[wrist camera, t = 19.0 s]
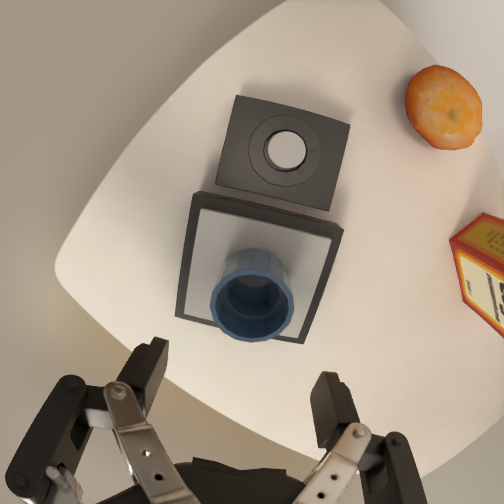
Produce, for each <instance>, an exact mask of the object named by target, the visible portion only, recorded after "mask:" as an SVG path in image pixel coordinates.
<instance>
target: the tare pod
mask: <svg viewBox="0 0 504 504" xmlns="http://www.w3.org/2000/svg"><path fill="white" fill-rule="evenodd" d="M349 129H350V124H347V123H344V122H341V121H338V120H335V119H332V118H329V117H325V116H322V115H319V114H315V113H312V112H309V111H305V110H301V109H298V108H294V107H290V106H286V105H282V104H278V103H273V102H269V101H265V100H260V99H255V98H250V97H245V96H239V95H236V97H235V101H234V105H233V109H232V113H231V117H230V121H229V125H228V129H227V133H226V138H225V142H224V146H223V150H222V155H221V159H220V164H219V168H218V173H217V177H216V182H215V184H216V185H221V186H226V187H231V188H235V189H240V190H244V191H248V192H253V193H257V194H261V195H266V196H270V197H274V198H278V199H282V200H286V201H290V202H294V203H298V204H302V205H306V206H309V207H313V208H317V209H320V210H324V211H328V212H329V209H330V205H331V202H332V198H333V194H334V190H335V187H336V183H337V179H338V175H339V171H340V167H341V163H342V159H343V155H344V151H345V146H346V142H347V138H348V133H349ZM284 131H288V132H293V133H295V134H297V135H298V136H299V137H300V138H301V139H302V140H303V142H304V144H305V147H306V153H305V157H304V159H303V161H302V162H301V163H300V164H299V165H297V166H295V167H293V168H281V167H278V166H276V165H275V164H273V163H272V162H271V160H270V159H269V156H268V152H267V149H268V144H269V142H270V140H271V138H272V137H273V136H274V135H276V134H278V133H280V132H284Z"/></svg>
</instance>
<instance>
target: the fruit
mask: <svg viewBox="0 0 504 504" xmlns="http://www.w3.org/2000/svg"><path fill="white" fill-rule="evenodd" d="M406 113H407V116H408V118H409V120H410V121H411V123H412V125H413V126H414V128H415V129H416V130H417V132H418V133H419V134H420V135H421V136H422V137H423V138H424V139H426V140H427V141H428V143H429V144H430V145H432V146H433V147H434V148H437V149H442V150H457V149H462V148H467V147H469V146H471V145H472V143H473V141H474V139H475V138H476V137H477V136H478V135H479V134H480V132H481V129H482V102H481V99H480V97H479V96H478V94H477V92H476V90H475V89H474V88H473V87H472V85H471V84H470V83H469V82H468V81H467V80H466V79H465V78H464V77H462V76H461V75H460V74H459V73H457V72H456V71H454V70H452V69H450V68H447V67H444V66H440V65H432V66H430V67H427V68H424V69H422V70H421V71H419V72H418V73H417V74H415V75H414V76H413V77H412V79H411V80H410V82H409V85H408V88H407V92H406Z"/></svg>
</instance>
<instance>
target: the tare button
mask: <svg viewBox="0 0 504 504" xmlns="http://www.w3.org/2000/svg"><path fill="white" fill-rule="evenodd" d="M267 152H268V156H269V159H270V160H271V162H272V163H273V164H275V165H276V166H278V167H281V168H293V167H295V166H297V165H299V164H300V163H301V162H302V161H303V159H304V157H305V153H306V147H305V144H304V142H303V140H302V139H301V138H300V137H299V136H298V135H297V134H295V133H293V132H288V131H284V132H280V133H278V134H276V135H274V136H273V137H272V138H271V140H270V142H269V144H268V149H267Z"/></svg>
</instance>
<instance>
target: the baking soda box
mask: <svg viewBox="0 0 504 504" xmlns="http://www.w3.org/2000/svg"><path fill="white" fill-rule="evenodd" d="M449 241H450V245H451V248H452V252H453V256H454V260H455V264H456V269H457V273H458V278H459V282H460V287H461V293H462V298H463V302H464V303H465V304H467V305H468V306H469V307H470V308H471V309H472V310H474V311H475V312H476V313H477V314H478V315H479V316H480V317H481V318H483V319H484V320H485V321H486V322H487V323H488V324H489V325H490V326H491V327H492V328H493V329H495V330H496V331H497V332H498V333H499V334H500V335H501V336H502V337H503V338H504V220H503V219H500V218H497V217H494V216H491V215H488V214H486V213H482V214H481V215H480V216H479V217H478V218H476V219H475V220H474V221H473V222H471V223H470V224H469V225H468V226H466V227H465V228H464V229H463V230H461V231H460V232H459V233H458V234H456V235H455V236H454V237H452V238H451V239H450V240H449Z"/></svg>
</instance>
